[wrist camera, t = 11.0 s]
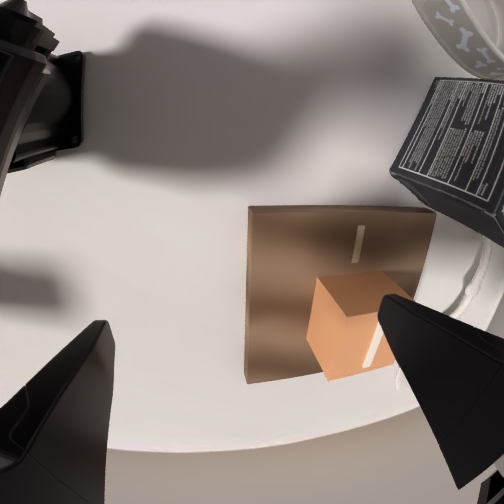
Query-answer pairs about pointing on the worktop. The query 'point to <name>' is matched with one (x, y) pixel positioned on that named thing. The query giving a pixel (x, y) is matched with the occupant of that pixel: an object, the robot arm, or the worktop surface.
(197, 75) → the worktop surface
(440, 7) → the dog bowl
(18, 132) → the robot arm
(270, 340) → the base plate
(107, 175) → the worktop surface
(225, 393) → the worktop surface
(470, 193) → the small box
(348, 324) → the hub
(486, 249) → the spoon
